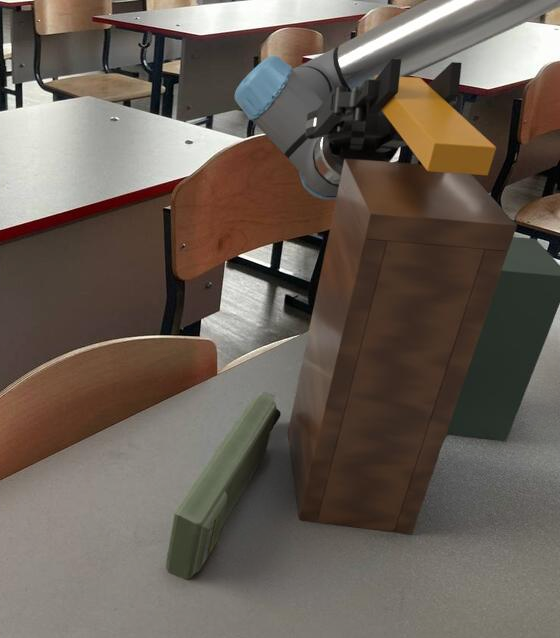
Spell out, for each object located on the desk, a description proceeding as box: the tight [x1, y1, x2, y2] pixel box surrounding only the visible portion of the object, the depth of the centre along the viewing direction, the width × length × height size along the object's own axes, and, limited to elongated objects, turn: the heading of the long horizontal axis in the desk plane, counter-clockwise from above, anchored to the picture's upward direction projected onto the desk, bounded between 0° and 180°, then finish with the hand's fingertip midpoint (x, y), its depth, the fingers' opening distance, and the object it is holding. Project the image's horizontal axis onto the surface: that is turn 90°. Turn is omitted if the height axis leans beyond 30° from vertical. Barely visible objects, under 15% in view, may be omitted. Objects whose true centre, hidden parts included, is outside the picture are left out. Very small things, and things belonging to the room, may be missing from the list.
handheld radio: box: [165, 390, 282, 580], centre depth 71 cm, size 7×3×25 cm
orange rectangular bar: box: [375, 75, 497, 176], centre depth 61 cm, size 4×22×2 cm, turn 171°
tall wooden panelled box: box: [287, 159, 518, 535], centre depth 67 cm, size 10×13×30 cm
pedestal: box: [446, 236, 560, 442], centre depth 80 cm, size 10×9×20 cm
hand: (424, 77), depth 62 cm, fingers closed on orange rectangular bar, 4 cm apart
